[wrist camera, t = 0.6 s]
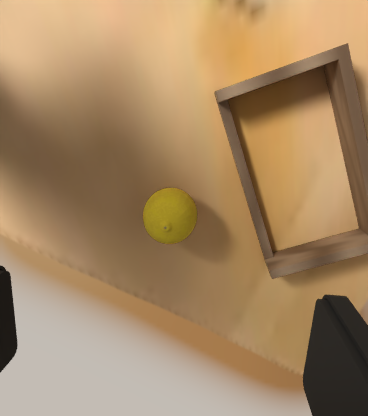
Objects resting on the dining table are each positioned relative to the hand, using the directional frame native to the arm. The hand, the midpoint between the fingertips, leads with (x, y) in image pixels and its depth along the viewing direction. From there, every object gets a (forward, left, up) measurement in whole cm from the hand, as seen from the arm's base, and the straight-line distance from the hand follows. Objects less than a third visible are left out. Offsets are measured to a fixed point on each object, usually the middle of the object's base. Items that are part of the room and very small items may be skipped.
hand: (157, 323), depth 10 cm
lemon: (-3, -3, -28) cm, 29 cm away
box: (+11, -3, -28) cm, 30 cm away
